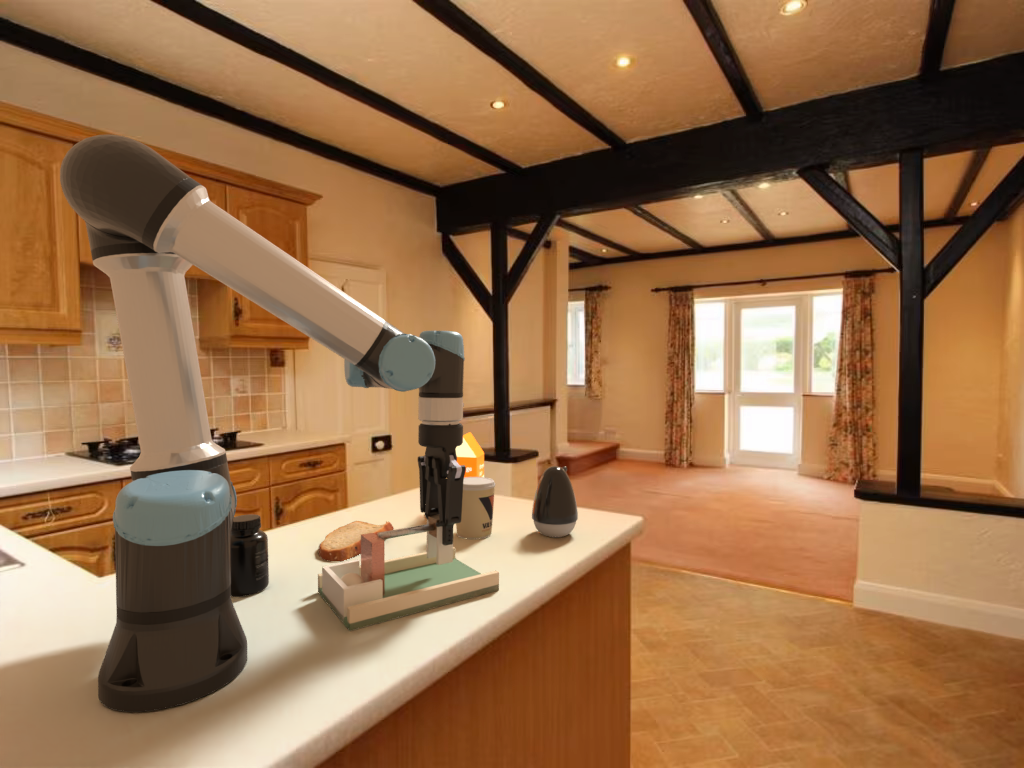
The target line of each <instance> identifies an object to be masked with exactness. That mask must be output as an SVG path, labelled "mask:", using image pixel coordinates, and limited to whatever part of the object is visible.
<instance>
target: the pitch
mask: <svg viewBox="0 0 1024 768" xmlns="http://www.w3.org/2000/svg"><path fill="white" fill-rule="evenodd" d="M384 568H385V595H383V581H382V580H381V579H379V580H374V581H370V582H365V583H361V584H357V585H352V586H347V585H346V584H345V583H344V582H343V581H342V580H341V577H343V576H344V575H345V574H348V573H356V574H358V575H360V576H361V564H360V560H359V559H354V560H347V561H342V562H339V563H334V564H329V565H325V566H322V567H321V573H318V574H317V593H318V592H319V593H320V594H319V593H318V594H319V596H320V597H321V596H322V597H323V598H324V599H323V598H322V597H321V598H322V599H323V600H324V602H325V603H326V602H327V603H328V604H327V603H326V604H327V605H328V607H331V608H332V609H333V610H332V609H331V608H330V609H331V610H332V611H333V613H334V614H335V613H336V614H335V615H336V616H337V617H338V619H339V620H340V621H341V622H342V624H343V625H344V626H345V627H346V628H347V630H348V631H350V632H351V631H354V630H355V631H356V630H358V629H362V628H365V627H369V626H373V625H377V624H380V623H383V622H388V621H391V620H395V619H398V618H401V617H405V616H410V615H413V614H417V613H420V612H424V611H427V610H431V609H435V608H440V607H442V606H446V605H449V604H454V603H458V602H461V601H464V600H468V599H472V598H475V597H479V596H483V595H487V594H490V593H494V592H497V591H500V572H499V571H498V570H492V571H488V572H484V573H481V572H479V571H477V570H475V569H474V568H472V567H471V566H469V565H468V564H466V563H463V562H462V561H461V560H458V559H457V558H456V547H455V546H453V562H450V563H445V564H441V565H438V564H436V557H433V558H427V551H425V552H420V553H414V554H410V555H404V556H400V557H394V558H390V559H384Z"/></svg>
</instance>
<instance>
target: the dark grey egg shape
mask: <svg viewBox="0 0 1024 768" xmlns="http://www.w3.org/2000/svg"><path fill="white" fill-rule="evenodd" d="M567 471H568V467H567V466H562V467H561V466H557V465H556V466H555V465H554V466H549V467H548V468H546V469H545V470H544V471H543V473H542V475H541V476H540V479H539V481H538V483H537V486H536V489H535V493H534V497H533V498H534V499H533V503H532V509H531V510H532V511H531V519H532V520H533V524H534V526H535V529H536V530H537V531H538V532H539V533H540V534H541V535H543V536H546V537H548V536H549V538H563V537H566V536H568V535H569V534H571V532H572V531H573V530H574V529H575V526H576V524H577V521H578V520H579V515H578V513H579V511H578V506H577V500H576V499H577V498H576V495H575V491H574V488H573V485H572V482H571V479H570V477H569V474H568V473H567ZM562 536H563V537H562Z"/></svg>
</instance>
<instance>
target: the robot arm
mask: <svg viewBox="0 0 1024 768" xmlns="http://www.w3.org/2000/svg"><path fill="white" fill-rule="evenodd" d="M59 182H60V183H59V184H60V187H61V190H62V192H63V196H64V198H65V199H66V201H67V203H68V204H69V207H70V208H71V209H72V210H73V211H74V212H75V213H76V214H77V215H78V216H79V217H80V218H81V219H82V220H83V221H84V223H85V226H86V227H85V228H86V233H87V237H88V238H87V239H88V242H89V249H90V250H89V251H90V254H91V259H92V264H93V266H94V267H95V268H97V269H98V270H99V271H101V272H103V273H104V274H106V276H108V278H109V281H110V284H111V285H110V286H111V290H112V291H111V292H112V297H113V302H114V308H115V309H114V310H115V314H116V320H117V325H118V331H119V337H120V342H121V347H122V348H121V349H122V353H123V359H124V366H125V371H126V375H127V376H126V377H127V381H128V386H129V391H130V398H131V403H132V411H133V415H134V419H135V420H134V421H135V426H136V432H137V437H138V442H139V443H138V444H139V448H140V454H139V457H138V458H136V460H135V461H134V462H133V463H132V464H131V465H130V467H129V471H130V475H131V481H130V482H129V483H127V484H126V485H125V486H123V487H122V488H121V489H120V490H119V491H118V493H117V496H116V498H115V507H114V508H115V509H114V511H113V512H112V522H113V528H114V543H115V544H114V546H115V547H114V548H115V549H114V550H115V555H114V556H115V593H116V594H115V598H116V599H115V601H116V602H115V603H116V622H115V626H114V629H113V631H112V635H111V636H110V637H111V638H110V639H109V643H108V645H107V648H106V651H105V653H104V656H103V660H102V663H101V666H100V669H99V671H98V677H97V691H98V692H97V695H98V696H97V697H98V699H99V702H100V703H101V704H102V705H103V706H105V707H106V708H108V709H111V710H115V711H119V712H127V713H131V712H133V713H140V712H142V713H143V712H152V711H153V712H154V711H158V710H164V709H168V708H173V707H177V706H181V705H183V704H186V703H189V702H192V701H196V700H199V699H200V698H202V697H205V696H207V695H210V694H212V693H214V692H215V691H218V690H219V689H221V688H223V687H225V686H226V685H227V684H229V683H230V682H231V681H233V680H234V679H235V678H236V677H237V676H239V675H240V674H241V672H242V671H243V670H244V668H245V667H246V665H247V663H248V662H247V661H248V639H247V636H246V633H245V631H244V629H243V625H242V624H241V621H240V618H239V616H238V614H237V611H236V608H235V606H234V603H233V601H232V596H231V529H232V522H233V518H234V517H235V515H236V511H237V510H236V508H237V503H238V499H237V492H236V489H235V486H234V485H233V482H232V480H231V476H230V469H229V465H228V458H227V457H228V456H227V451H226V449H225V448H224V447H222V446H220V445H218V444H217V443H215V442H214V441H213V439H212V434H211V428H210V422H209V416H208V410H207V404H206V403H207V402H206V397H205V392H204V386H203V385H204V384H203V379H202V373H201V369H200V368H201V367H200V362H199V356H198V350H197V343H196V338H195V337H196V336H195V333H194V326H193V325H194V324H193V320H192V315H191V308H190V302H189V296H188V289H187V284H186V278H185V275H186V273H187V271H189V270H190V268H192V266H195V267H196V268H198V269H199V270H201V271H202V272H204V273H206V274H207V275H209V277H212V278H213V279H215V280H217V281H219V282H220V283H222V284H223V285H225V286H227V287H228V288H230V289H231V290H233V292H236V293H237V294H239V295H241V296H243V298H246V299H247V300H248V301H251V302H253V303H254V304H255V305H257V306H258V307H260V308H261V309H263V310H265V311H266V312H268V313H269V314H272V315H274V316H275V317H277V319H279V320H281V321H283V322H285V323H287V324H288V325H289V326H291V327H293V328H294V329H296V330H297V331H299V332H301V333H302V334H304V335H305V336H307V337H308V338H310V339H312V340H314V341H315V342H317V343H318V344H320V345H321V346H323V347H324V348H326V349H327V350H329V351H331V352H333V353H335V354H336V355H338V357H341V358H343V359H344V360H343V361H344V364H343V365H344V366H343V367H344V378H345V382H346V384H347V385H348V386H349V387H352V388H364V389H369V388H383V389H390V390H393V391H396V392H397V391H398V392H403V393H405V392H409V391H413V390H417V389H418V405H417V406H418V408H417V409H418V410H417V411H418V414H417V415H418V418H417V420H419V421H420V422H421V423H419V425H418V432H417V433H418V435H417V436H418V442H417V443H418V445H420V446H421V447H425V452H424V455H419V456H417V464H418V473H419V475H418V476H419V503H420V504H419V509H420V512H421V513H423V514H424V517H425V519H427V520H426V524H429V516H432V515H438V514H439V520H440V522H439V523H436V526H437V538H436V537H434V536H432V535H430V534H429V531H428V532H426V552H427V558H433V557H436V564H438V565H441V564H445V563H450V562H453V547H454V525H456V523H460V522H461V516H462V498H463V480H464V476H465V472H466V467H465V465H459V464H458V463H457V455H456V447H457V446H460V445H462V443H463V435H464V425H463V424H462V423H460V421H461V422H462V420H464V407H465V403H464V377H465V376H464V373H465V371H464V370H465V347H464V346H465V345H464V338H463V335H462V334H461V333H459V332H458V331H452V330H451V331H450V330H423V331H421V332H420V333H419V336H417V335H413V334H411V333H408V334H407V333H405V332H403V331H402V330H400V329H399V328H397V327H396V326H394V325H393V324H391V323H389V322H388V321H386V319H384V318H383V317H381V316H380V315H378V314H377V313H375V312H374V311H373V310H372V309H371V310H370V309H369V308H368V307H367V306H365V305H364V304H362V303H360V302H359V301H358V300H356V299H354V298H353V297H352V296H350V295H349V294H347V293H346V292H344V291H343V290H341V289H340V288H338V287H337V286H336V285H334V284H333V283H332V282H330V281H328V280H327V279H325V278H324V277H323V276H321V275H319V274H318V273H317V272H315V271H313V270H312V269H311V268H309V267H308V266H306V265H304V263H302V262H300V261H299V260H297V259H296V258H295V257H293V256H292V255H290V254H289V253H287V252H286V251H284V250H283V249H282V248H280V247H278V246H277V245H275V244H274V243H272V242H271V241H270V240H268V239H267V238H265V237H264V236H262V235H261V234H259V233H258V232H256V231H255V230H254V229H252V228H251V227H249V226H248V225H246V224H245V223H243V222H242V221H240V220H239V219H237V218H235V217H234V216H233V215H232V214H230V213H229V212H227V211H226V210H224V209H222V208H221V207H220V206H218V205H216V203H214V202H212V201H211V200H210V197H209V194H208V190H207V188H206V187H205V186H204V185H202V183H200V182H198V181H196V180H195V179H193V178H192V177H191V176H189V175H188V174H187V173H185V172H184V171H183V170H181V169H180V168H178V167H177V166H176V165H175V164H174V163H172V162H171V161H169V160H168V159H167V158H165V157H164V156H162V155H161V154H160V153H158V152H157V151H156V150H154V149H153V148H152V147H150V146H148V145H146V144H145V143H142V142H140V141H139V140H137V139H136V140H135V139H134V138H132V137H127V136H124V135H118V134H98V135H93V136H90V137H86V138H84V139H82V140H80V141H78V142H77V143H75V144H74V145H73V146H72V147H71V148H69V150H68V151H67V152H66V153H65V155H64V157H63V159H62V161H61V165H60V168H59Z"/></svg>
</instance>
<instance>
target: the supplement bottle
mask: <svg viewBox="0 0 1024 768" xmlns="http://www.w3.org/2000/svg"><path fill="white" fill-rule="evenodd" d="M261 519H262V518H261V515H259V514H252V513H251V514H241V515H237V516H234V518H233V522H232V529H231V597H232V596H233V597H235V598H237V597H240V598H242V597H248V596H252V595H255V594H258V593H261V592H262V591H264V590H266V589H267V587H268V586H269V583H270V581H269V580H270V577H269V576H270V574H269V573H270V572H269V570H270V569H269V548H268V547H269V543H268V540H269V539H268V535H267V534H266V532H265V531H263V530H261V528H262V523H261ZM233 597H232V598H233Z"/></svg>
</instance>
